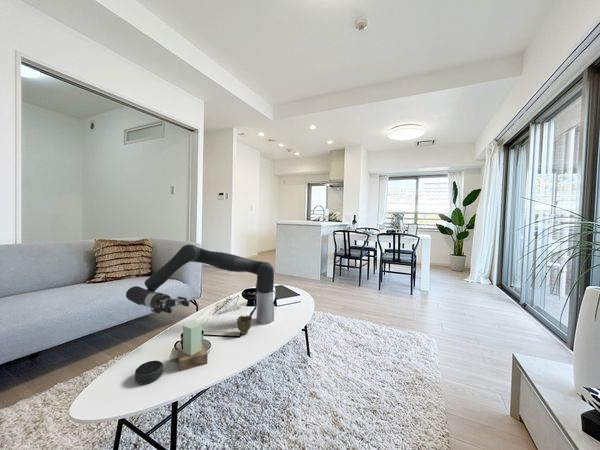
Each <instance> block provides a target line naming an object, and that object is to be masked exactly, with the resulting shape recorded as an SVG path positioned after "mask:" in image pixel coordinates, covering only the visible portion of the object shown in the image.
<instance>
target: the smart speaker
mask: <svg viewBox="0 0 600 450" xmlns="http://www.w3.org/2000/svg"><path fill="white" fill-rule="evenodd" d="M134 371H135V372H134V381H135V382H136V383H137V384H140V385H147V384H150V383H154V382H155V381H157V380H158V379H160V377H162V375H163V374H164V363H163V362H162V361H160V360H150V361H146V362H144V363H142V364H140V365H139V366H138V367H137V368H136V369H135V370H134Z"/></svg>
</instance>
